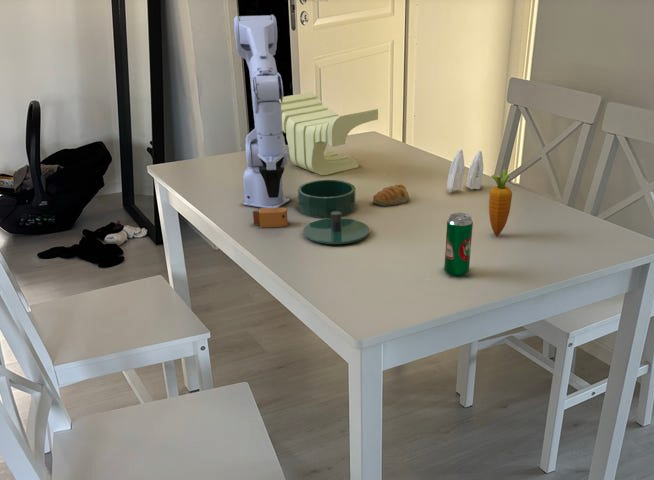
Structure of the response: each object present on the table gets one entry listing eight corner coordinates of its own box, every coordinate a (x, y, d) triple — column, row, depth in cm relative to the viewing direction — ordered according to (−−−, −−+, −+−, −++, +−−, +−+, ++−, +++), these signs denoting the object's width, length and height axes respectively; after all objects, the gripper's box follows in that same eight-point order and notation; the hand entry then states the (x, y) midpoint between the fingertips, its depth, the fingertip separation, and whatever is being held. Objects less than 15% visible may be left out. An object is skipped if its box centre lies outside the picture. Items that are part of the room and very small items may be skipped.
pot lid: (352, 251, 162) (352, 229, 160) (291, 240, 168) (290, 218, 165) (379, 228, 174) (380, 207, 171) (322, 218, 180) (321, 198, 177)
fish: (253, 228, 175) (252, 213, 173) (254, 222, 178) (253, 208, 176) (287, 226, 175) (286, 212, 173) (287, 221, 178) (286, 207, 176)
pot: (340, 221, 178) (339, 201, 176) (288, 212, 183) (287, 193, 181) (364, 203, 189) (364, 184, 187) (315, 195, 194) (314, 177, 192)
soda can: (441, 267, 154) (445, 212, 148) (465, 266, 155) (470, 211, 148) (446, 278, 150) (450, 221, 144) (471, 277, 150) (475, 220, 144)
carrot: (494, 241, 166) (500, 175, 159) (481, 234, 170) (486, 169, 162) (512, 237, 168) (519, 172, 161) (498, 230, 172) (505, 166, 164)
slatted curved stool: (272, 160, 222) (268, 99, 213) (314, 151, 231) (312, 91, 222) (332, 184, 202) (331, 117, 193) (377, 173, 211) (378, 108, 202)
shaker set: (450, 196, 193) (453, 154, 187) (440, 192, 196) (443, 150, 190) (485, 188, 198) (489, 147, 193) (475, 184, 201) (478, 143, 196)
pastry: (383, 209, 185) (383, 194, 183) (366, 202, 190) (366, 188, 188) (411, 201, 190) (411, 186, 188) (394, 195, 195) (394, 180, 193)
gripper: (288, 140, 159) (291, 201, 166) (287, 124, 171) (290, 181, 178) (255, 141, 158) (259, 202, 165) (256, 124, 171) (260, 182, 178)
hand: (273, 191), depth 172 cm, fingers open, 7 cm apart
